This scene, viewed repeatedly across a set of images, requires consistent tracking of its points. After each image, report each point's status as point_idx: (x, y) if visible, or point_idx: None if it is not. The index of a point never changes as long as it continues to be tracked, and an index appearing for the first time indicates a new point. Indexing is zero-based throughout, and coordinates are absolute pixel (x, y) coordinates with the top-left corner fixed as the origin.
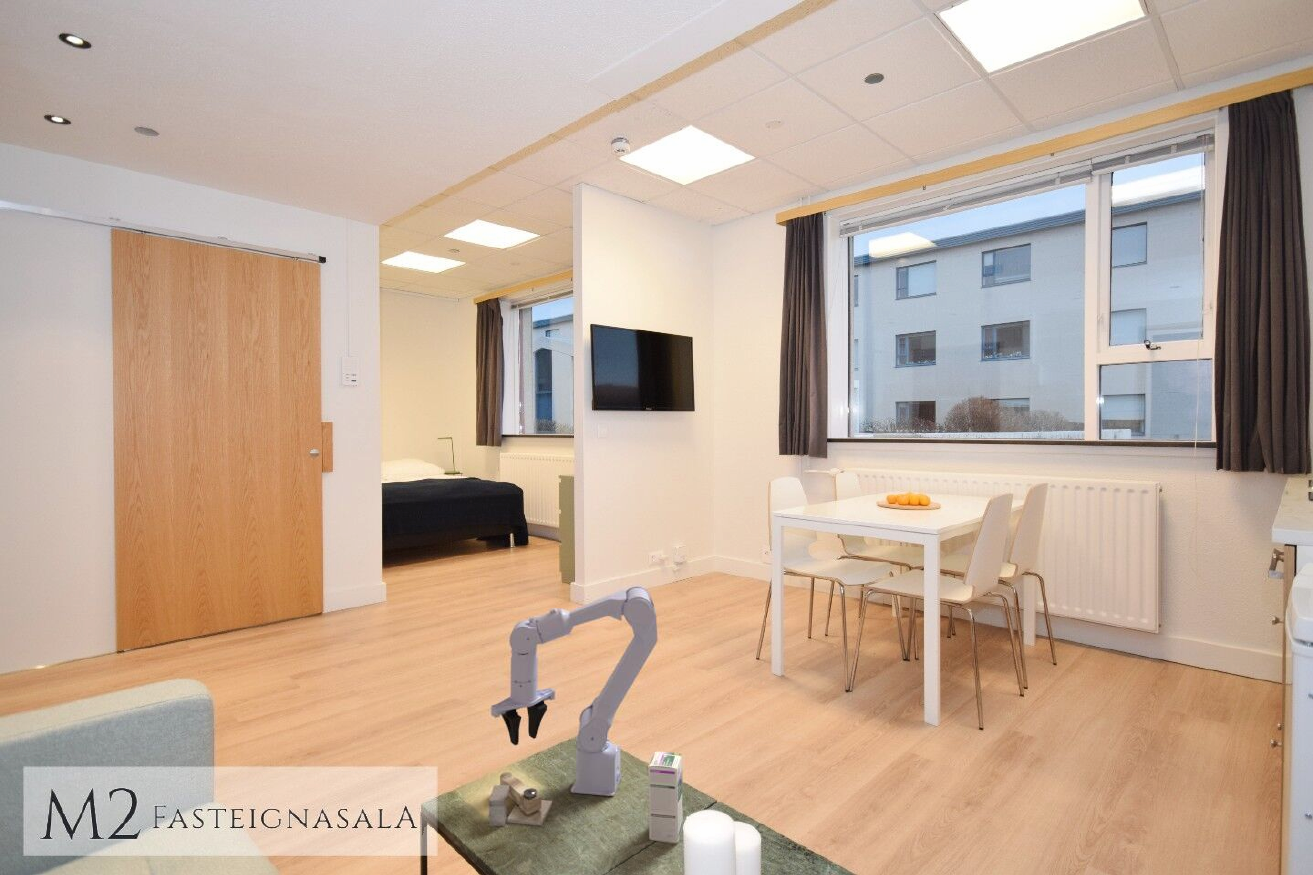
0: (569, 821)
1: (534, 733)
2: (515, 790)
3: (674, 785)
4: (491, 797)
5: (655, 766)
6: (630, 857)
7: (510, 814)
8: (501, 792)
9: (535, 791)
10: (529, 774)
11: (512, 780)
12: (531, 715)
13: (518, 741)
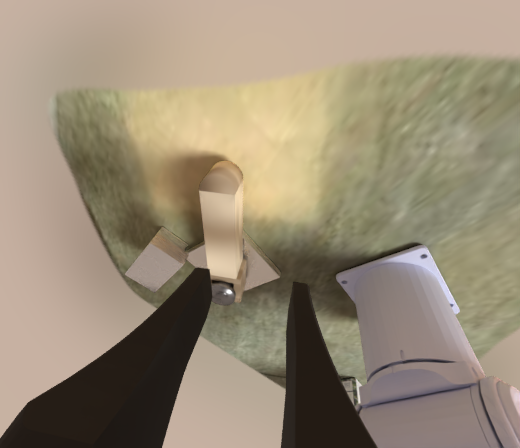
0: (271, 311)
1: (286, 336)
2: (206, 255)
3: None
4: (131, 270)
5: None
6: (279, 377)
7: (192, 252)
8: (157, 272)
9: (230, 300)
10: (332, 144)
11: (219, 223)
12: (290, 408)
13: (207, 311)
